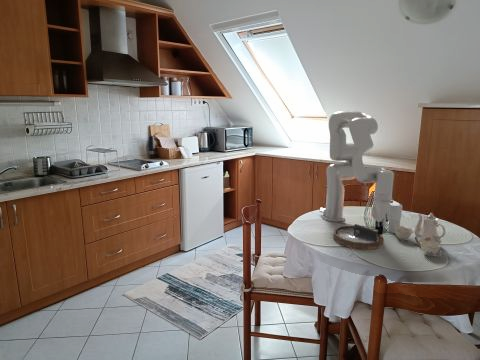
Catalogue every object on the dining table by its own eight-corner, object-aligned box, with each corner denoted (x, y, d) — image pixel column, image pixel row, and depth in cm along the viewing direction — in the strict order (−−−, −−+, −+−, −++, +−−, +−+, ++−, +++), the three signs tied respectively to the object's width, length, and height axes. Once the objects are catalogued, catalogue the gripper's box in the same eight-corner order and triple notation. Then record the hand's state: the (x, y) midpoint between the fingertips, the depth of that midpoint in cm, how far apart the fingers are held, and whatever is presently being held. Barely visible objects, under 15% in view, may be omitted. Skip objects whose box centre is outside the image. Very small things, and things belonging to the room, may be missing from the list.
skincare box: (380, 227, 190) (383, 200, 187) (391, 226, 191) (394, 200, 188) (388, 232, 182) (391, 205, 179) (399, 232, 183) (403, 204, 179)
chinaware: (386, 240, 177) (387, 208, 173) (413, 233, 182) (414, 202, 178) (432, 265, 152) (435, 228, 147) (462, 256, 157) (465, 220, 152)
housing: (324, 239, 172) (324, 233, 172) (346, 227, 189) (347, 221, 188) (370, 254, 157) (371, 247, 156) (391, 240, 173) (391, 233, 172)
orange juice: (380, 213, 213) (383, 180, 208) (384, 218, 204) (388, 184, 199) (366, 212, 213) (369, 180, 209) (370, 217, 205) (373, 184, 200)
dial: (328, 236, 174) (329, 223, 172) (351, 227, 186) (352, 215, 185) (364, 249, 159) (366, 235, 158) (387, 238, 171) (388, 225, 170)
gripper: (368, 192, 172) (365, 228, 176) (381, 201, 157) (376, 240, 162) (384, 192, 172) (380, 228, 176) (398, 201, 157) (393, 240, 162)
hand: (378, 233), depth 169 cm, fingers closed
